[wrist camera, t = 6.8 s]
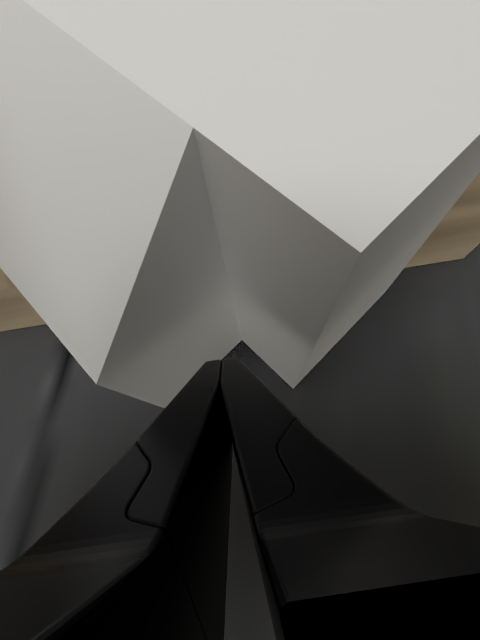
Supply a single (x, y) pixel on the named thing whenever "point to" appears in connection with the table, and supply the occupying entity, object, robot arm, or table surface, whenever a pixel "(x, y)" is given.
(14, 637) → the robot arm
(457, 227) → the wooden rack
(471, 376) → the table surface
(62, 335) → the grey faceted lump
